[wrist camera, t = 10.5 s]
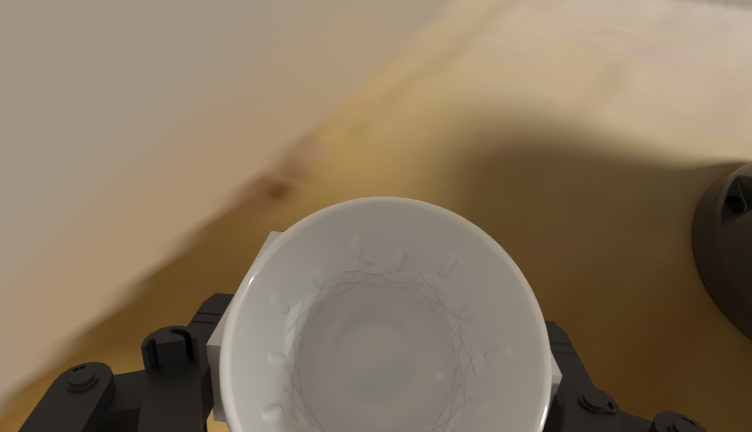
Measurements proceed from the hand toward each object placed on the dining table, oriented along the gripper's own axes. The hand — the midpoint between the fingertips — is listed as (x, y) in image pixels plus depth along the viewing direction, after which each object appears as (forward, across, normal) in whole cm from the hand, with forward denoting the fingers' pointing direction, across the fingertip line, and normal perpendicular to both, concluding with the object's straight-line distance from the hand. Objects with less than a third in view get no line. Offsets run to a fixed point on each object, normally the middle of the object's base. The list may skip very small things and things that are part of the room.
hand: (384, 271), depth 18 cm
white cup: (0, 0, -5) cm, 5 cm away
